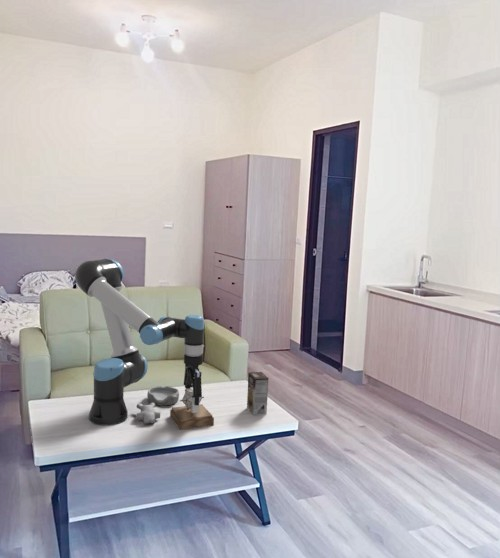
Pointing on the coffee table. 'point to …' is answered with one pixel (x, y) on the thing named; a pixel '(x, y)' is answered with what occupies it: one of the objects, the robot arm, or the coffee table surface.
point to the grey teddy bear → (147, 413)
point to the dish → (163, 395)
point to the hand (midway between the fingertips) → (191, 408)
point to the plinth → (191, 417)
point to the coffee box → (257, 393)
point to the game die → (188, 399)
